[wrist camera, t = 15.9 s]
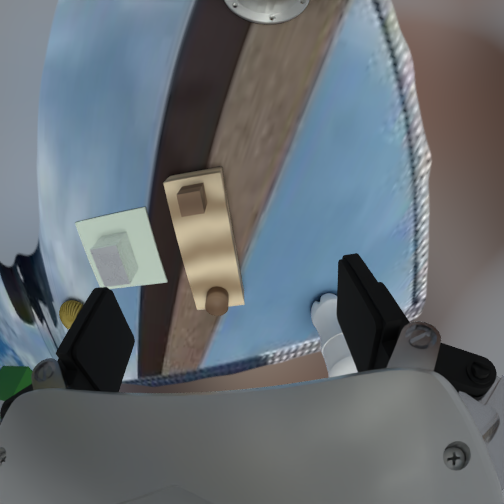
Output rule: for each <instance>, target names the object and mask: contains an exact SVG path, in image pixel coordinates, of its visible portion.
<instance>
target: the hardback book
mask: <svg viewBox="0 0 504 504" xmlns="http://www.w3.org/2000/svg"><path fill="white" fill-rule="evenodd" d="M31 374H32V370H31V369H30V368H29V367H23V366H3V367H2V368H1V370H0V411H1V407H2V404H3V402H4V401H5V400H7V399H8V398H10V397H11V396H13V395H15V394H16V393H18V392H19V391H21V390H22V389H24V388H26V387H27V386H29V385H30V384H32V379H31ZM0 418H1V417H0Z"/></svg>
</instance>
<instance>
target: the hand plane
mask: <svg viewBox="0 0 504 504" xmlns="http://www.w3.org/2000/svg"><path fill="white" fill-rule="evenodd" d="M164 188H165V192H166V196H167V201H168V205H169V209H170V213H171V217H172V221H173V225H174V229H175V233H176V237H177V240H178V244H179V248H180V252H181V255H182V259H183V262H184V266H185V270H186V273H187V277H188V280H189V283H190V287H191V290H192V294H193V297H194V300H195V303H196V307H197V310H202V309H206V311H207V312H208V313H209V314H211V315H214V316H221V315H223V314H225V313H226V312H227V311H228V306H237V305H244V289H243V283H242V278H241V272H240V267H239V261H238V256H237V250H236V244H235V239H234V233H233V227H232V222H231V216H230V210H229V204H228V199H227V193H226V187H225V181H224V175H223V169H222V167H217V168H211V169H206V170H200V171H194V172H189V173H183V174H178V175H173V176H169V177H168V179H167V180H166V181H165V182H164Z"/></svg>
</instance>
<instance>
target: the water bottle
mask: <svg viewBox="0 0 504 504" xmlns="http://www.w3.org/2000/svg"><path fill="white" fill-rule="evenodd" d="M311 319H312V322H313V325H314V326H315V327H316V329H317V331H318V333H319V336H320V341H321V352H322V355H323V357H324V359H325V363H326V366H327V370H328V373H329V378H330V377H335V376H340V375H345V374H351V373H357V372H358V371H357V369H356V366H355V363H354V361H353V358H352V356H351V353H350V350H349V348H348V345H347V343H346V340H345V338H344V335H343V333H342V330H341V328H340V325H339V323H338V320H337V296H336V295H334V294H331V293H327V294H324V295H322V296H321V299H320V302H318V301H315V302H314V303H313V305H312V308H311Z"/></svg>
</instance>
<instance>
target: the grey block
mask: <svg viewBox="0 0 504 504" xmlns="http://www.w3.org/2000/svg"><path fill="white" fill-rule="evenodd" d="M90 252H91V254H92V257H93V259H94V262H95V264H96V267H97V269H98V272H99V274H100V277H101V279H102V281H103V284H104V286H105V287H108V286H117V285H125V284H130V283H131V282H132V280H133V278H134V276H135V274H136V272H137V270H138V268H139V267H138V264H137V262H136V259H135V256H134V253H133V250H132V247H131V244H130V241H129V238H128V234H127V232H121V233H116V234H111V235H106V236H102V237H101V238H100V239H99V240H98V241H97V242H96V243H95V245H94V246H93V247H92V248H91V249H90Z"/></svg>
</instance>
